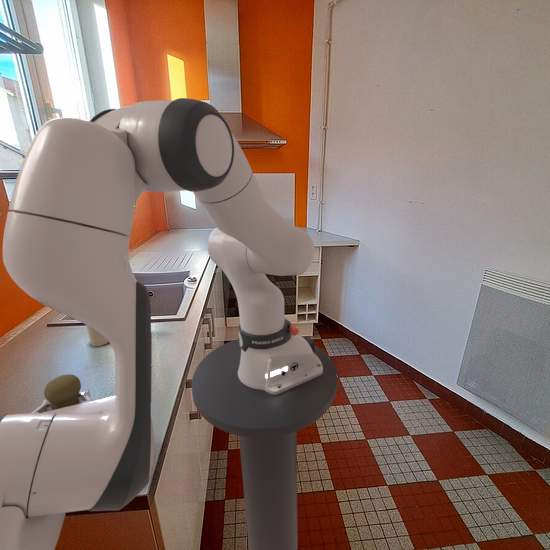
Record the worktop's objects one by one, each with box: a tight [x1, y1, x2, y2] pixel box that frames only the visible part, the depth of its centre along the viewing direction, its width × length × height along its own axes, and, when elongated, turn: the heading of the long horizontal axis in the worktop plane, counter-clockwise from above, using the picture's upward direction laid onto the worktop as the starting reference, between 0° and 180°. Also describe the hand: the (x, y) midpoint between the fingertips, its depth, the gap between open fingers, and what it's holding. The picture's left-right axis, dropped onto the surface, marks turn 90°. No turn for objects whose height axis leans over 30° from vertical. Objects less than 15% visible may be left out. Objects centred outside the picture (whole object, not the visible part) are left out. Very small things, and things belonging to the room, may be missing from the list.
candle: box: [85, 324, 110, 347], centre depth 94 cm, size 6×6×10 cm
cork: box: [43, 374, 82, 410], centre depth 53 cm, size 6×6×11 cm
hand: (67, 397), depth 54 cm, fingers closed on cork, 4 cm apart
